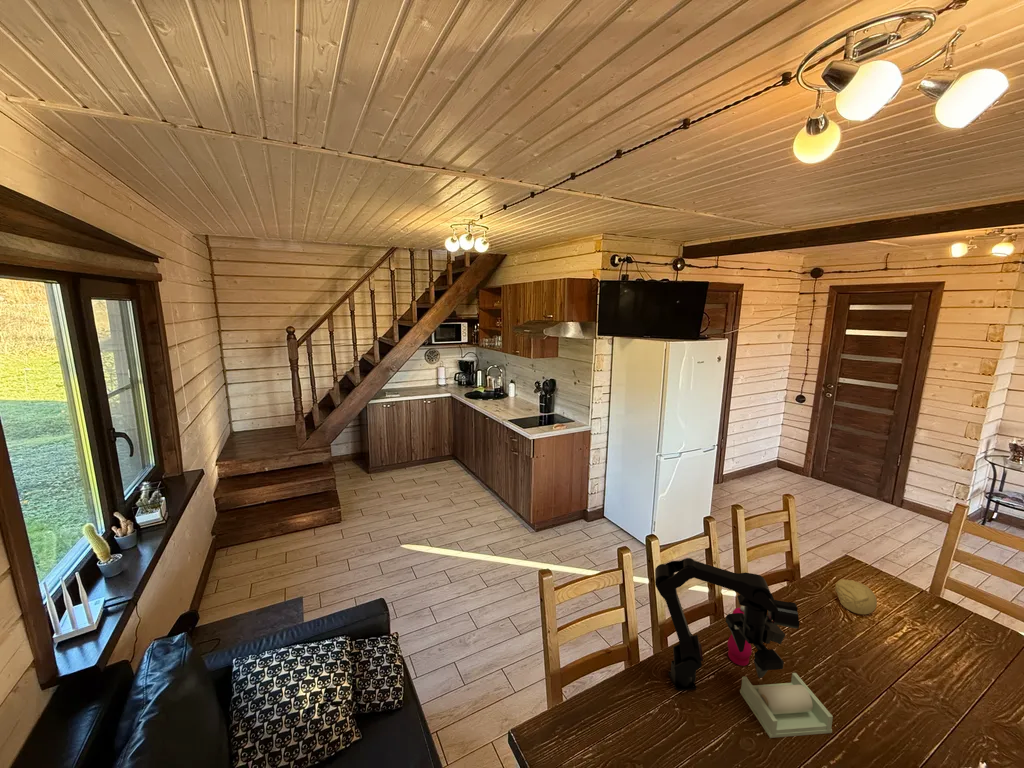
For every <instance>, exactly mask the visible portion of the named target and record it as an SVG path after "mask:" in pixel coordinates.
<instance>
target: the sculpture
mask: <svg viewBox="0 0 1024 768" xmlns="http://www.w3.org/2000/svg"><path fill="white" fill-rule="evenodd" d="M834 589H835V590H834V591H835V592H836V594H837V597H838V599H839V602H840V604H841V605H842V606H843V608H845V609H847V610H848V611H849V612H852V613H854V614H858V615H870V614H871V613H872V612H874V611H875V609H876V608H877V605H878V601H877V597H876V594H875V593H874V592H873V590H872V589H871V588H870V587H868V586H867V585H865V584H864V583H861V582H859V581H856V580H853V579H844V578H841V579H839V580H838V581H837V582H836V583H835V588H834Z"/></svg>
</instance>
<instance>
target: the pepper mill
mask: <svg viewBox="0 0 1024 768" xmlns="http://www.w3.org/2000/svg"><path fill="white" fill-rule="evenodd" d="M744 607H745V606H742V605H740V606H739V607H736V608H735V609H733V611H732V612H731V614H733V613H743V614H744ZM751 644H752V643H750V644H749V643H748V642H747V641H746V640H745V646H744V650H743V652H739V650H738V647H737V645H736V642H735V640H734V638H733V635H732V634H730V636H729V637H728V640H727V645H726V646H727V649H728V651H727V652H728V653H727V655H728V658H729V660H730V661H731V662H732V663H734V664H735V665H738V666H741V667H742V666H744V667H745V666H747V665H749V662H750V656H751V655H752V652H753V648H752V645H751Z"/></svg>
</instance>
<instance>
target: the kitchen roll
mask: <svg viewBox="0 0 1024 768" xmlns="http://www.w3.org/2000/svg"><path fill="white" fill-rule="evenodd" d="M758 694H759V695H760V697H762V698H763V699H764V702H765V704H766V705H767V707H768V708H769V710H770V711H771V712H772V714H773V715H774V714H787V713H800V712H811V711H812V710H813V703H812V699H811V697H810V695H809V693H808V691H807V690H806V689H805V687H804V686H802V685H786V686H772V687H760V688H759V689H758Z"/></svg>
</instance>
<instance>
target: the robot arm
mask: <svg viewBox="0 0 1024 768" xmlns="http://www.w3.org/2000/svg"><path fill="white" fill-rule="evenodd" d="M654 571H655V572H654V573H655V574H654V576H655V577H654V582H655V588H656V589H657V591H658V593H659V595H660V597H662V598H663V599H664V600H665V604H666V607H667V610H668V611H669V612H668V613H669V614H670V617H671V620H672V624H673V627H674V630H675V633H676V636H677V638H678V643H677V644H676V645H674V646H673V647H672V648H673V649H672V650H673V652H672V653H673V660H671V666H670V671H668V674H667V675H668V676H669V678H670V680H671V682H672V684H673V686H674V688H675V690H676V691H690V690H697V685H696V679H697V670H700V669H701V668H702V665H703V664H702V662H704V657H703V655H704V654H703V649H702V644H701V643H700V640H699V636H698V634H694V635H693V634H692V632H691V630H690V628H689V625H688V622H687V619H686V616H685V613H684V610H683V607H682V603H681V601H680V598H679V595H678V590H677V589H678V588H680V587H682V586H683V585H684V584H685V583H686V582H688V581H689V580H692V579H697V580H699V581H702V582H703V581H704V582H705V583H709V584H713V585H716V586H718V587H721V588H725V589H727V590H730V591H734V592H736V593H737V594H738V595H737V601H738V604H739V606H745V607H744V614H743V613H733V612H732V613H733V614H732V613H728V614H727V615H726V616H725V623H726V625H727V627H728V629H729V630H730V633H731V635H733V638H734V640H735V642H736V645H737V647H738V650H739V652H743V650H744V646H745V640H746V641H747V642H748V643H749V644H752V645H753V647H754V648H755V649H756V651H755V652H754V659H753V663H754V666H755V670H756V675H757V678H759V679H762V678H764V676H765V675H766V674H767V672H768V671H776V670H783V669H784V663H785V661H784V660H783V659H782V658H781V656H780V655H779V654H778V653H777V652H776V651H775V650H774V649H768V648H767V646H766V645H767V644H770V643H771V642H772V643H777V644H778V645H782V642H783V641H784V639H785V637H786V633H785V632H784V631H783V630H782V629H781V628H780V627H779V626H781V627H785V628H786V627H787V628H791V629H796V630H797V629H799V628H800V618H799V612H798V605H797V604H796V602H792V601H783V600H778V599H777V600H776V599H775V598H774V596H773V593H772V592H771V590H770V588H769V585H768V583H767V580H766V579H765V578H764V576H762V575H760V574H757V573H751V572H740V573H737V572H733V571H729V570H726V569H723V568H721V567H720V568H719V567H716V566H713V565H710V564H707V563H703V562H700V561H697V560H695V559H693V558H691V557H686V558H684V559H681V560H671V561H669V562H666V563H661V564H658V565H657V566H656V567H655V569H654Z"/></svg>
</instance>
